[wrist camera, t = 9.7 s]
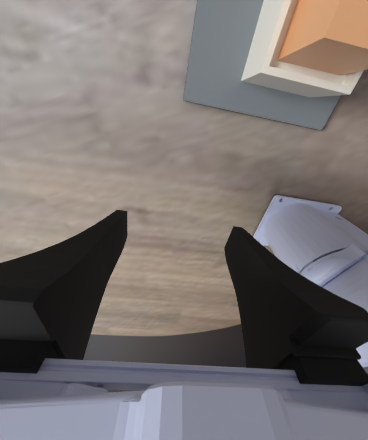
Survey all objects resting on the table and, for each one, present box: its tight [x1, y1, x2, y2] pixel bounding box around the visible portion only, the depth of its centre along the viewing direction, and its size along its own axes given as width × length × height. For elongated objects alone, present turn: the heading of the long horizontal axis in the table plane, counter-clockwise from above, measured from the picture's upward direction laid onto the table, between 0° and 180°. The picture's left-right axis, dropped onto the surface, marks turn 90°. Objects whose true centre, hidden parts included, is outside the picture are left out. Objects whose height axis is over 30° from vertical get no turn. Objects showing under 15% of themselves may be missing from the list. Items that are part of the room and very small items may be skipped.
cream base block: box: [241, 0, 364, 98], centre depth 11 cm, size 7×7×4 cm
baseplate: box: [183, 0, 341, 130], centre depth 14 cm, size 14×9×1 cm, turn 80°
